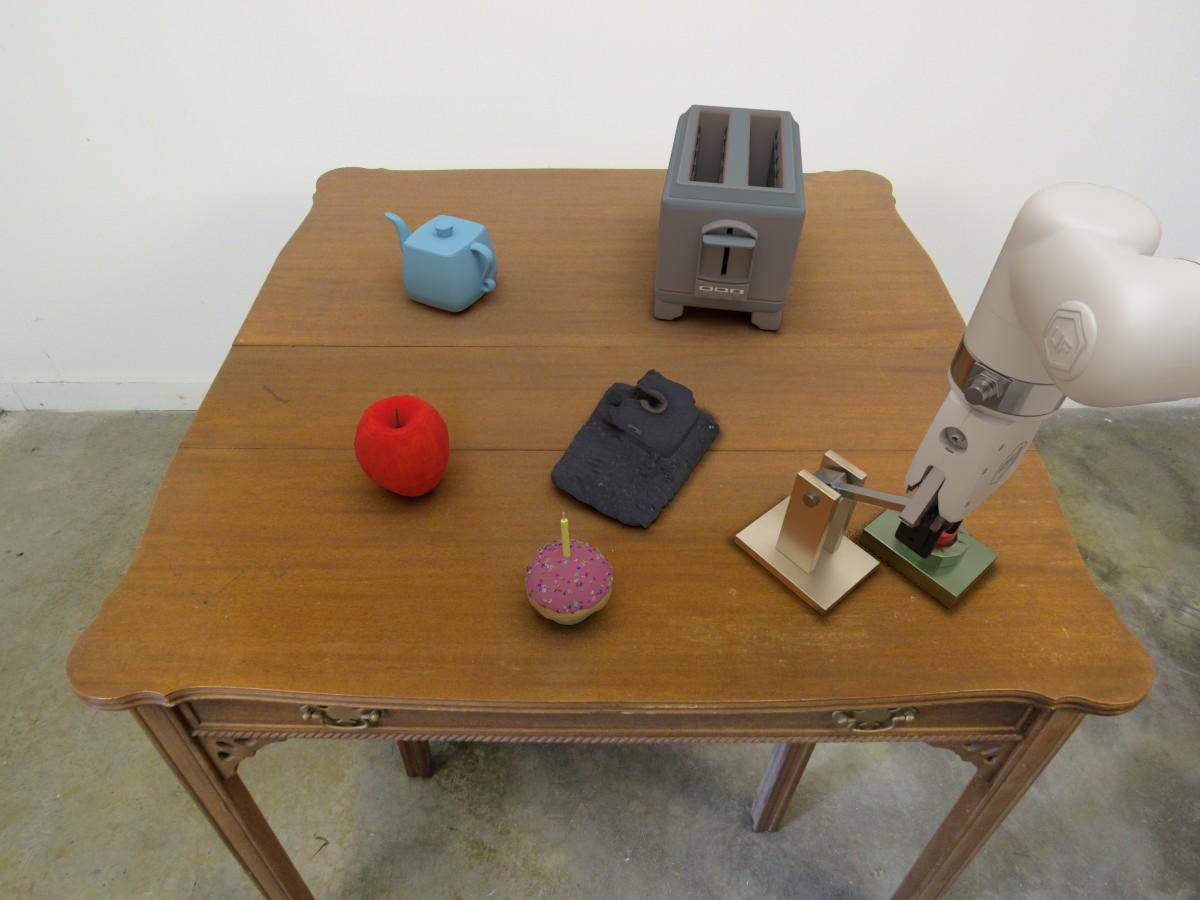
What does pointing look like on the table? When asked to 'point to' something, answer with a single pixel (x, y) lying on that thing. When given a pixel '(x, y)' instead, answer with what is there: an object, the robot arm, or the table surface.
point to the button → (946, 539)
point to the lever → (868, 494)
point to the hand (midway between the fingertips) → (925, 533)
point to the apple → (403, 444)
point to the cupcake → (568, 579)
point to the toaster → (730, 213)
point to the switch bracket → (812, 539)
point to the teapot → (446, 261)
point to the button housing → (931, 559)
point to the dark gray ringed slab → (636, 449)
